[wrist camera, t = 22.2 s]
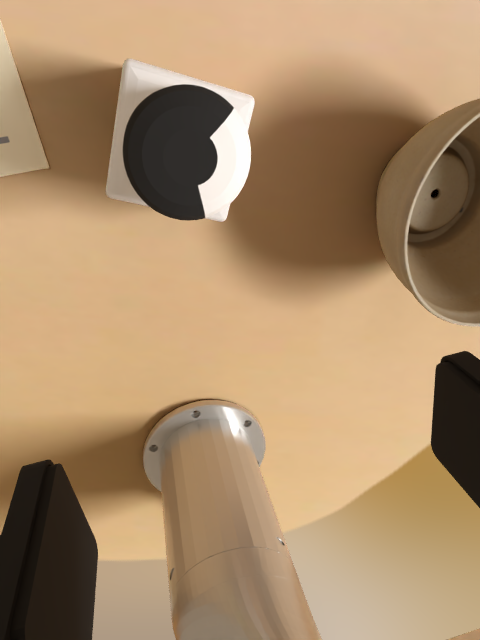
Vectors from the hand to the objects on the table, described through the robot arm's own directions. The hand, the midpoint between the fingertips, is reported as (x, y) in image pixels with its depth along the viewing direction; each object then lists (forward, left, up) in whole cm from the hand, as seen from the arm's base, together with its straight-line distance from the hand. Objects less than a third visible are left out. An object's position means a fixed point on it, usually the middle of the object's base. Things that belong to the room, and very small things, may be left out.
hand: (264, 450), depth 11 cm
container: (+5, -1, -28) cm, 29 cm away
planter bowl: (-3, -22, -28) cm, 36 cm away
